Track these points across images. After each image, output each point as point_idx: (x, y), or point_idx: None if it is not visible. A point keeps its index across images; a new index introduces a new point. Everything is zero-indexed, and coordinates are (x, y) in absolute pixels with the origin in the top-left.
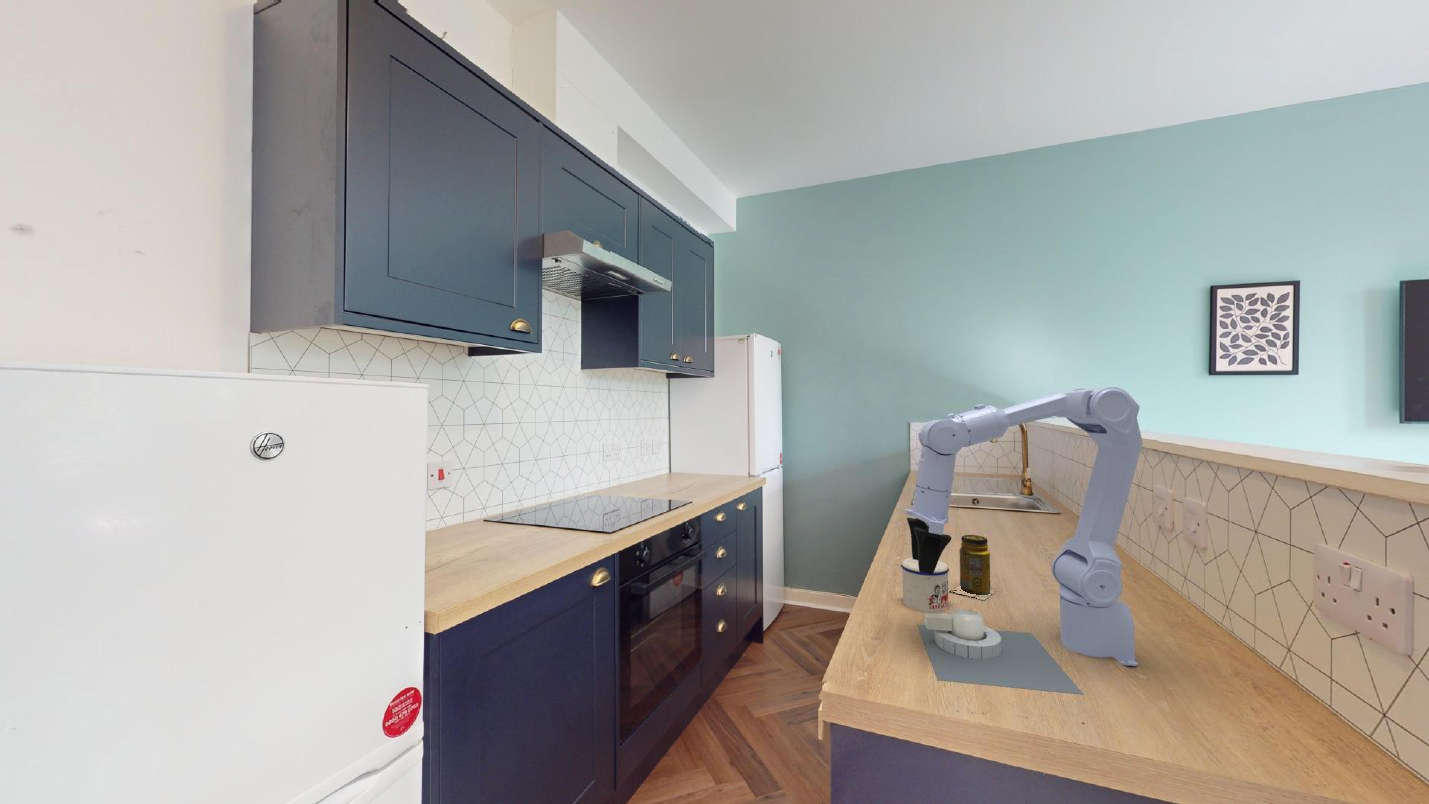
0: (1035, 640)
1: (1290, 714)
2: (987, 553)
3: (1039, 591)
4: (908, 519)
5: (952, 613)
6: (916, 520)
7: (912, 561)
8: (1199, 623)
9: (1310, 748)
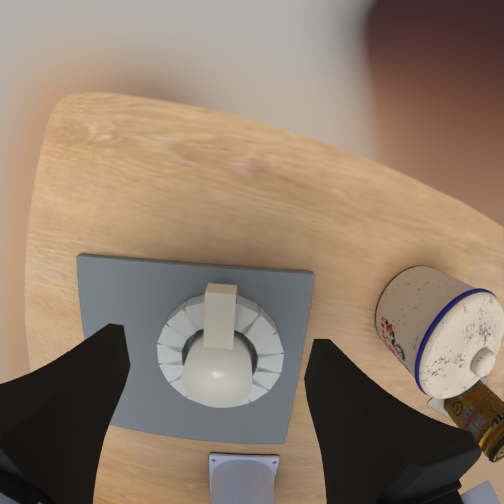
0: (255, 441)
1: None
2: None
3: None
4: (420, 473)
5: (220, 356)
6: (409, 497)
7: (474, 324)
8: None
9: (104, 496)
